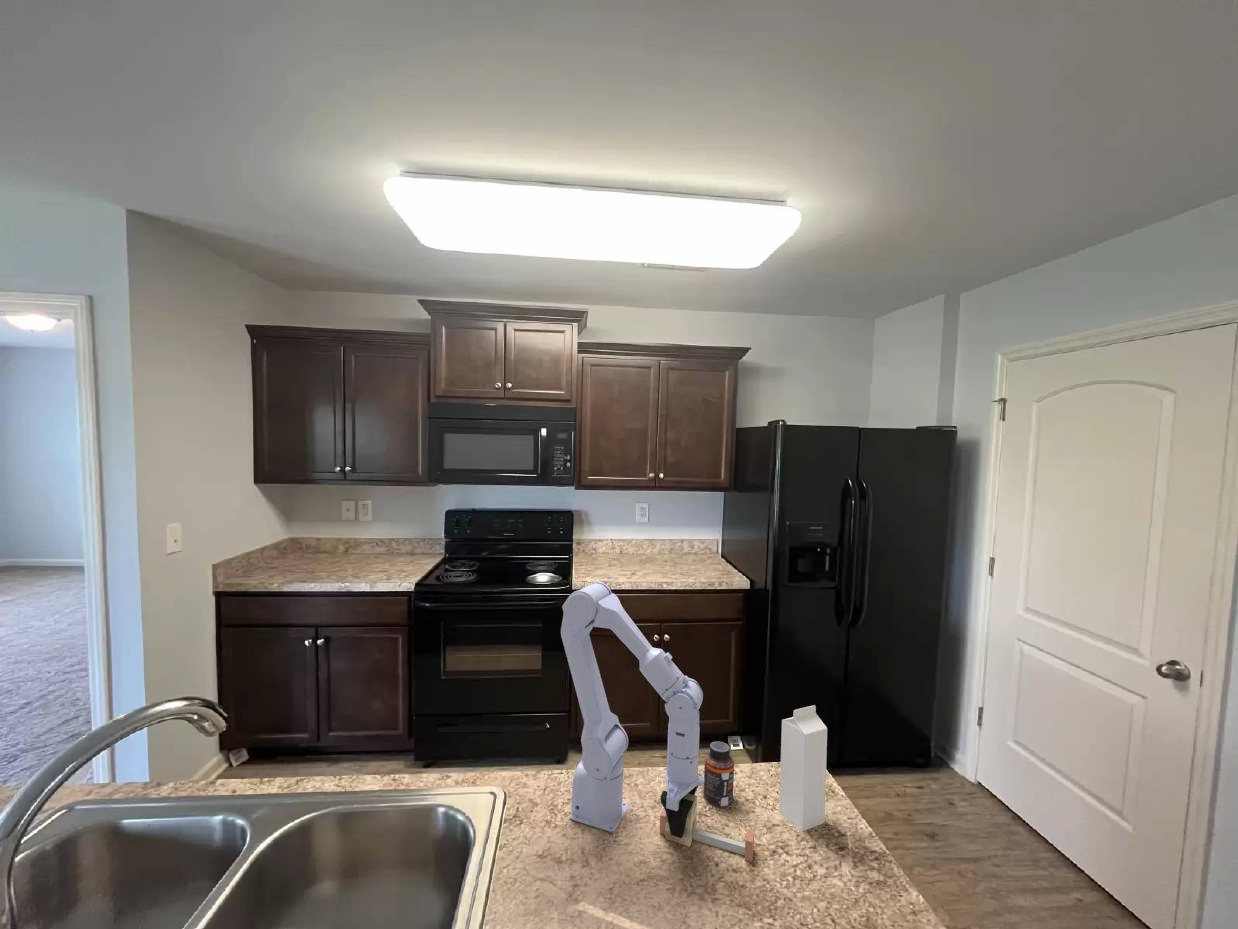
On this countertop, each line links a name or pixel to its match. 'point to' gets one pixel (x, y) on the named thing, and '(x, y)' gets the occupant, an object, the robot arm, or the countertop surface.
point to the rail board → (719, 839)
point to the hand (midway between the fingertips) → (680, 825)
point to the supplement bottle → (719, 775)
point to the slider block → (688, 827)
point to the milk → (803, 769)
